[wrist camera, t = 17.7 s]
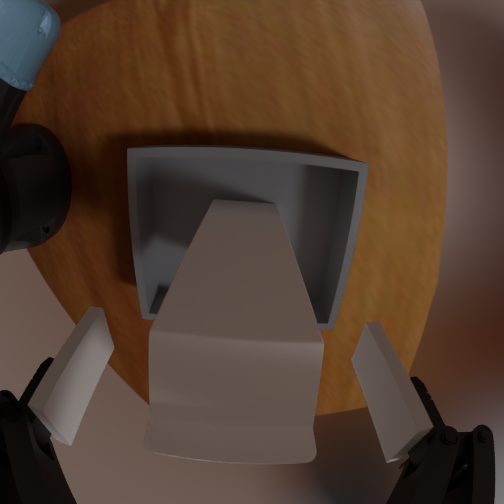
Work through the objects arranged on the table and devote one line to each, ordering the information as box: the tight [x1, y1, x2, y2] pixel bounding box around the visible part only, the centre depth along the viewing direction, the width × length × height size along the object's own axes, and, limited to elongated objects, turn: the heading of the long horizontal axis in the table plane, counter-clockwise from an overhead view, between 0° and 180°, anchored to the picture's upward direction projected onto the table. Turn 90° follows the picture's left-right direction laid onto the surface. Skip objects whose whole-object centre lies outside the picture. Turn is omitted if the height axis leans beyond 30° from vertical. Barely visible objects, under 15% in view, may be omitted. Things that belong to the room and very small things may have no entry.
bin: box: [127, 144, 369, 330], centre depth 26 cm, size 20×17×5 cm
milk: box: [144, 199, 324, 464], centre depth 17 cm, size 6×6×22 cm
